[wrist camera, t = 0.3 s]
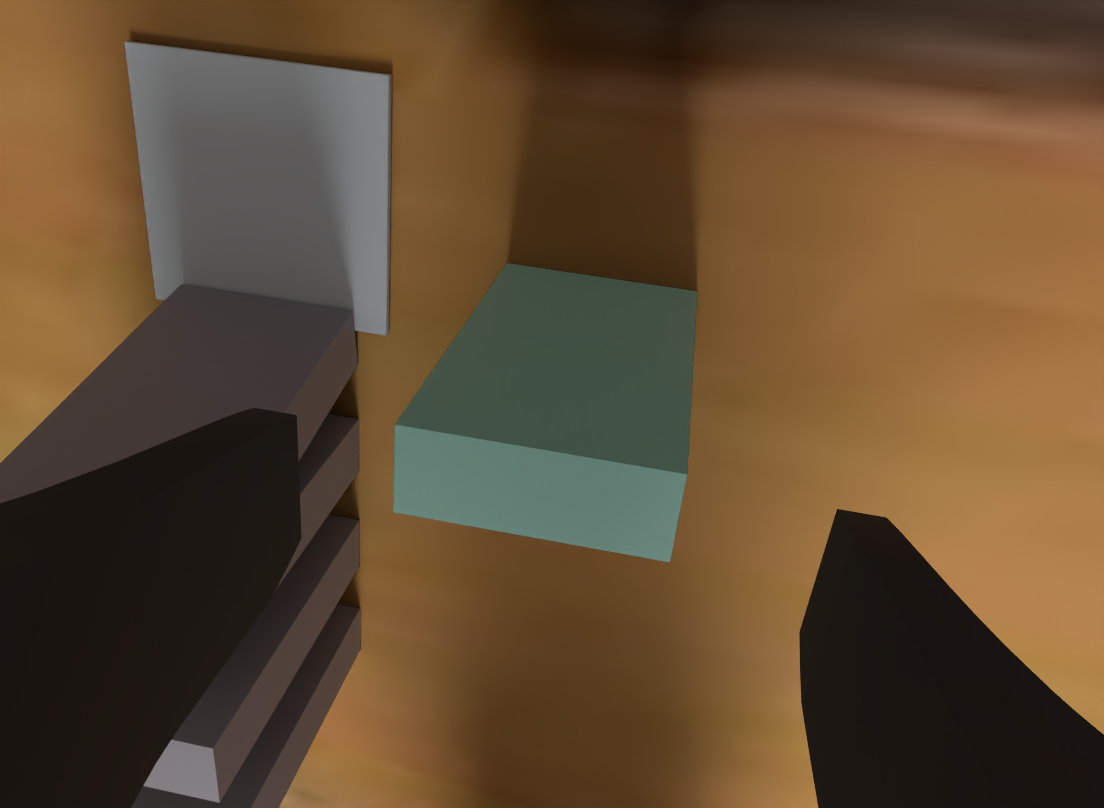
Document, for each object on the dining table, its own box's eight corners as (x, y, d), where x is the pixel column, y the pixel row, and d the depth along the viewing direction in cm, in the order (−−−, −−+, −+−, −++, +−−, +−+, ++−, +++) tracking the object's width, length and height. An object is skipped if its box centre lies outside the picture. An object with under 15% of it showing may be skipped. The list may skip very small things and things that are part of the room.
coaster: (388, 332, 21) (386, 335, 21) (160, 296, 22) (156, 299, 22) (391, 74, 19) (388, 75, 18) (130, 40, 19) (124, 41, 19)
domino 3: (360, 649, 26) (231, 899, 19) (223, 622, 27) (49, 856, 20) (360, 608, 26) (226, 852, 19) (219, 581, 26) (36, 809, 19)
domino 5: (685, 355, 20) (670, 562, 13) (502, 326, 21) (393, 511, 14) (697, 291, 20) (687, 474, 13) (507, 262, 20) (394, 424, 13)
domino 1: (358, 364, 22) (202, 618, 16) (193, 337, 22) (-21, 575, 16) (352, 310, 21) (184, 561, 15) (181, 284, 21) (-53, 515, 15)
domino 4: (359, 470, 23) (206, 689, 16) (205, 443, 24) (-8, 644, 17) (358, 418, 23) (198, 624, 16) (199, 391, 23) (-26, 579, 16)
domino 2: (359, 565, 25) (219, 802, 18) (215, 538, 25) (22, 759, 18) (359, 519, 24) (213, 748, 17) (210, 492, 25) (7, 704, 18)
